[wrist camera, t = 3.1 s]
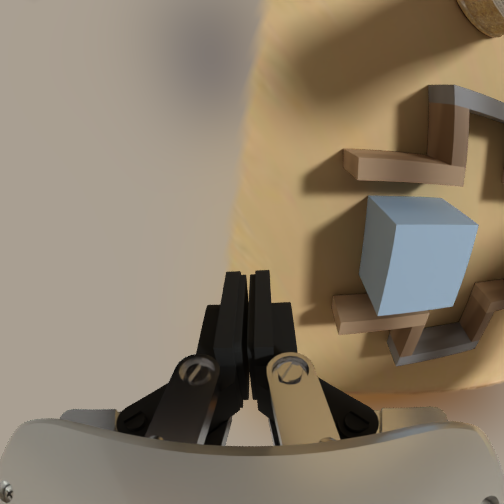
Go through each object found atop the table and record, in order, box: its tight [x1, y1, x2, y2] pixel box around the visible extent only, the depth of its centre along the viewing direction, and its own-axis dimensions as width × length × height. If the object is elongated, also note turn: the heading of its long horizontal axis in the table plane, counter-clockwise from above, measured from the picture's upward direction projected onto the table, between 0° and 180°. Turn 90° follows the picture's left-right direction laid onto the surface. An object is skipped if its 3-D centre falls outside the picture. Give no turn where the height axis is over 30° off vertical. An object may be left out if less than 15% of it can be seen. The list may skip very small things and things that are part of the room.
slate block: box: [359, 196, 478, 316], centre depth 13 cm, size 5×5×4 cm
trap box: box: [332, 85, 504, 366], centre depth 14 cm, size 18×18×2 cm
